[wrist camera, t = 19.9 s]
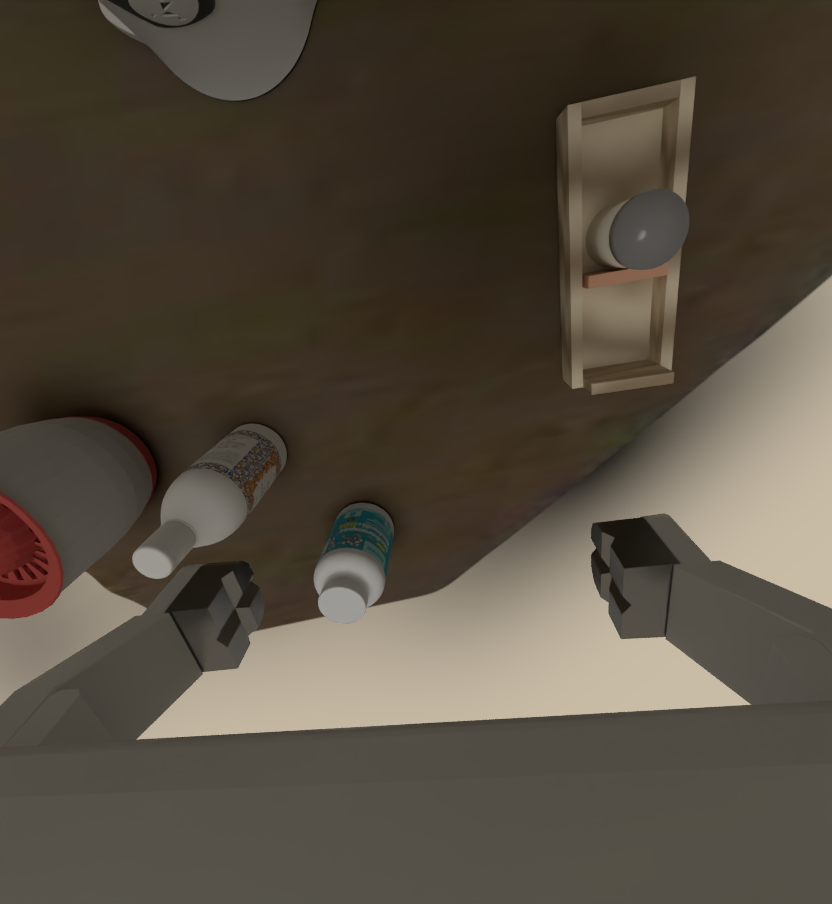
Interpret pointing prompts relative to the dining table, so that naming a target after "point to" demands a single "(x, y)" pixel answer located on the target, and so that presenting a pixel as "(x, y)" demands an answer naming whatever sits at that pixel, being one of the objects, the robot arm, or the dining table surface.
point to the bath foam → (212, 497)
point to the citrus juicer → (64, 503)
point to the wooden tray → (585, 195)
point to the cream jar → (639, 231)
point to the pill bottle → (354, 562)
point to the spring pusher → (620, 276)
